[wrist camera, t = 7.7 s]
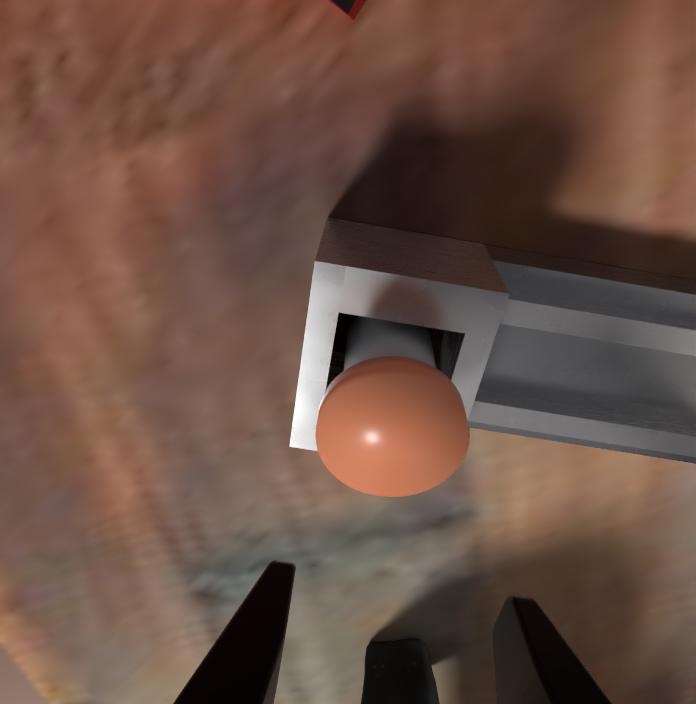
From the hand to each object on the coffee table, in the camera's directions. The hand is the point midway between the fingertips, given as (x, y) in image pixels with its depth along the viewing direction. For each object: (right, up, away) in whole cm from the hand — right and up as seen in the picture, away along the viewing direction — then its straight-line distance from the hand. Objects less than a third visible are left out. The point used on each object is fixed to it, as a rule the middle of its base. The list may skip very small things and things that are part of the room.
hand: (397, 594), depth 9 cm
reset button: (0, +4, +8) cm, 9 cm away
